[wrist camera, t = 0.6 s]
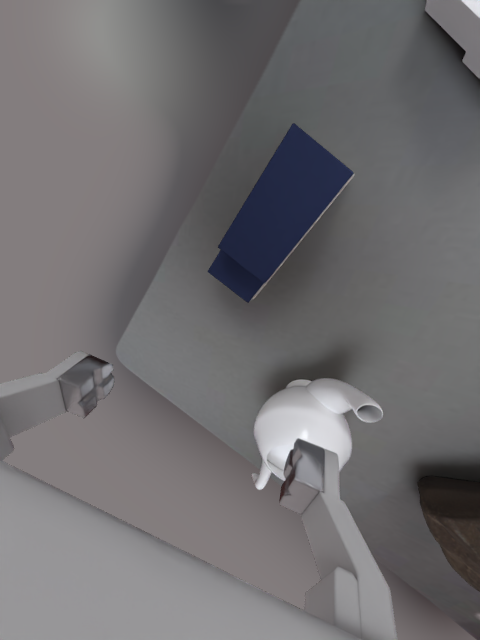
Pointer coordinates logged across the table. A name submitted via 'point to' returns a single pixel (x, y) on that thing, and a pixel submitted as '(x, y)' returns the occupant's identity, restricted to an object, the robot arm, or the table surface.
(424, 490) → the dark brown bone
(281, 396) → the teapot
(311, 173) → the navy stepped block
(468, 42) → the bracket
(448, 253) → the table surface
